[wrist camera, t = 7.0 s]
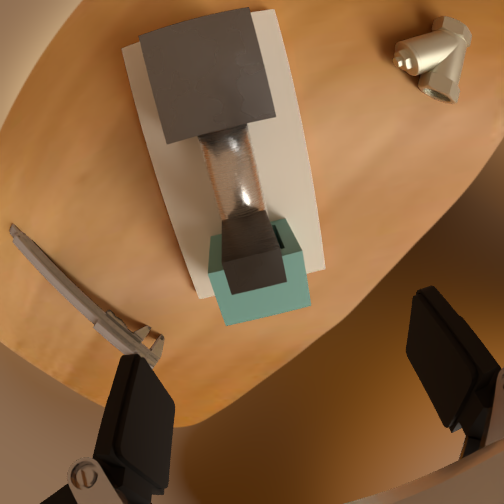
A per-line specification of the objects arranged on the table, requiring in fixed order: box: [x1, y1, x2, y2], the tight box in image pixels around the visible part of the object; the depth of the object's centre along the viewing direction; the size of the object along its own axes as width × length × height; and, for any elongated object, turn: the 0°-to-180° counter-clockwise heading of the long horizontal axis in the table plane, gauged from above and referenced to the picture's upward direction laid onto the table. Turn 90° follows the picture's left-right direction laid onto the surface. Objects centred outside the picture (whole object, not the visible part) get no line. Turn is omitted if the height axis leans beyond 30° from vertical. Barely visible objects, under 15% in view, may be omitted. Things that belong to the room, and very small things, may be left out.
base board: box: [121, 9, 325, 299], centre depth 24 cm, size 12×23×1 cm, turn 13°
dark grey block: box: [139, 7, 276, 145], centre depth 18 cm, size 6×7×6 cm
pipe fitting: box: [393, 16, 472, 104], centre depth 19 cm, size 8×4×7 cm
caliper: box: [10, 224, 164, 369], centre depth 26 cm, size 20×1×6 cm, turn 47°
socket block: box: [208, 218, 311, 326], centre depth 24 cm, size 6×5×6 cm
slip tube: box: [197, 123, 287, 295], centre depth 19 cm, size 3×14×9 cm, turn 13°
